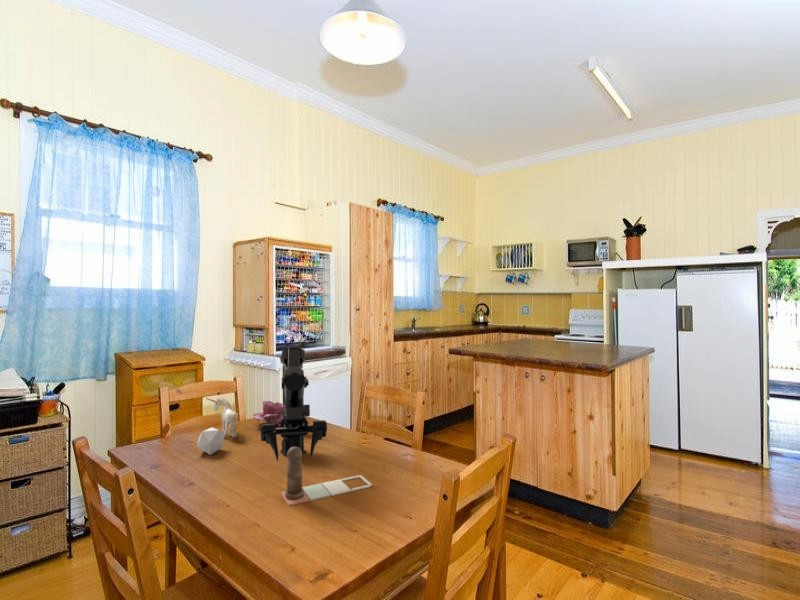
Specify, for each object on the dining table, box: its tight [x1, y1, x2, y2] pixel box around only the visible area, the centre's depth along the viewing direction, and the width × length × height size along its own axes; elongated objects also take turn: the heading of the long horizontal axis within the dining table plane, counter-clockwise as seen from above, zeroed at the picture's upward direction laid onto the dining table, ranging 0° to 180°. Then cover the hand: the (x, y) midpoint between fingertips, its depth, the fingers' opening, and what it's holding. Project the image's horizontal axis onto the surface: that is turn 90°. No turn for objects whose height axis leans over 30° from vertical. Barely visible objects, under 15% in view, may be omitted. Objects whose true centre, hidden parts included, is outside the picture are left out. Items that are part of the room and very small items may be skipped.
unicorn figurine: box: [205, 397, 238, 439], centre depth 167 cm, size 7×20×13 cm, turn 51°
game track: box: [280, 474, 374, 507], centre depth 120 cm, size 24×8×1 cm, turn 119°
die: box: [196, 426, 225, 456], centre depth 149 cm, size 8×9×10 cm
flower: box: [252, 400, 285, 428], centre depth 180 cm, size 15×15×10 cm
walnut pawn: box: [285, 446, 304, 500], centre depth 115 cm, size 5×5×13 cm
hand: (294, 458), depth 122 cm, fingers open, 9 cm apart
